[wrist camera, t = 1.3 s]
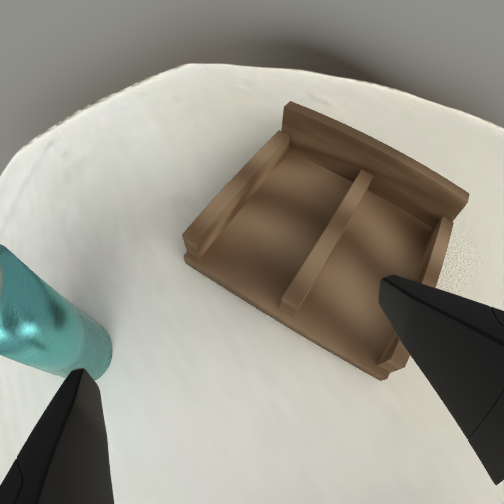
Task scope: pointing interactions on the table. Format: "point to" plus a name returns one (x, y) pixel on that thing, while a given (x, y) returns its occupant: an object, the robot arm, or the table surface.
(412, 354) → the robot arm
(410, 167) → the rack
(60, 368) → the spray can
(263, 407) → the table surface
